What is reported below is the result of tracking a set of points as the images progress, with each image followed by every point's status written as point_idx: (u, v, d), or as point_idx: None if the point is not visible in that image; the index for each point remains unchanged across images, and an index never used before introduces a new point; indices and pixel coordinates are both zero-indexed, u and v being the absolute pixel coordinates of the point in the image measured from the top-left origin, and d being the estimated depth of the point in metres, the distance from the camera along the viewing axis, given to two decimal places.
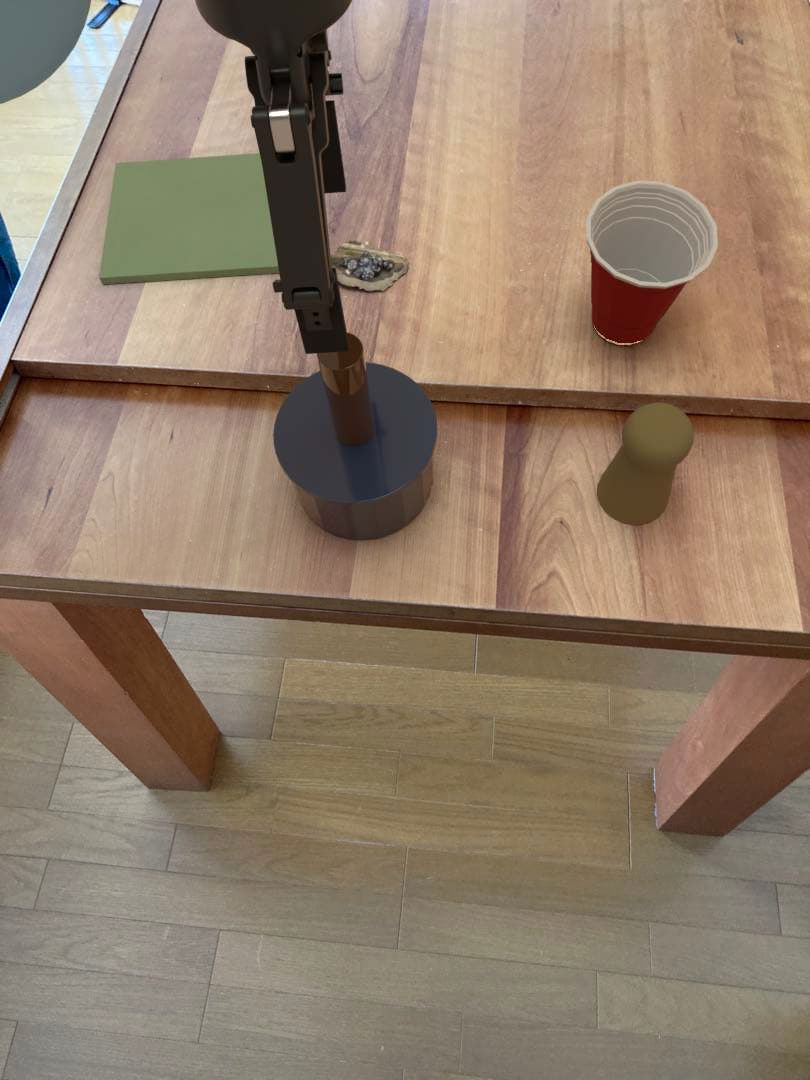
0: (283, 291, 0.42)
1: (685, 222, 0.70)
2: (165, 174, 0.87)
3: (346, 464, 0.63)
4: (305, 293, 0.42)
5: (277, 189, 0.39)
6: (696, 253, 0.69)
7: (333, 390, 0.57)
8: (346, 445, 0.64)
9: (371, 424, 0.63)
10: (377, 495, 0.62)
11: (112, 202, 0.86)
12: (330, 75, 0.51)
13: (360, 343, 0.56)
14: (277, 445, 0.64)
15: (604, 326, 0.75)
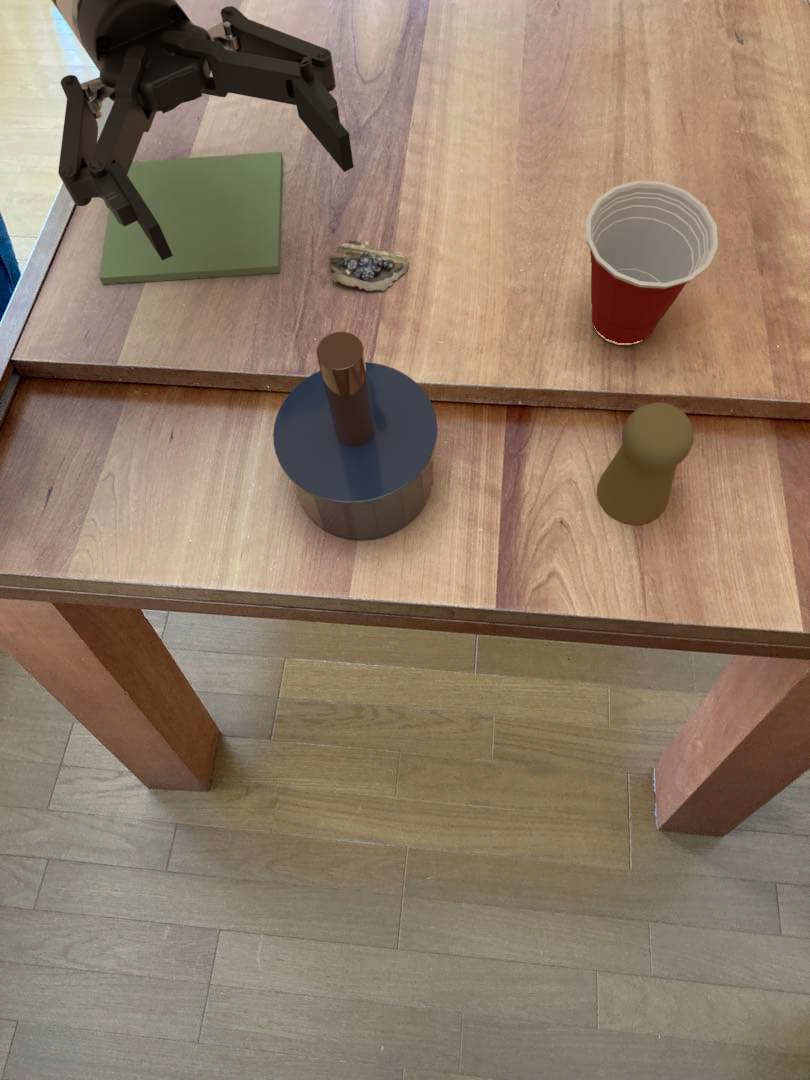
0: (320, 47, 0.57)
1: (685, 222, 0.70)
2: (165, 174, 0.87)
3: (346, 464, 0.63)
4: None
5: None
6: (696, 253, 0.69)
7: (333, 390, 0.57)
8: (346, 445, 0.64)
9: (371, 424, 0.63)
10: (377, 495, 0.62)
11: None
12: None
13: (360, 343, 0.56)
14: (277, 445, 0.64)
15: (604, 326, 0.75)
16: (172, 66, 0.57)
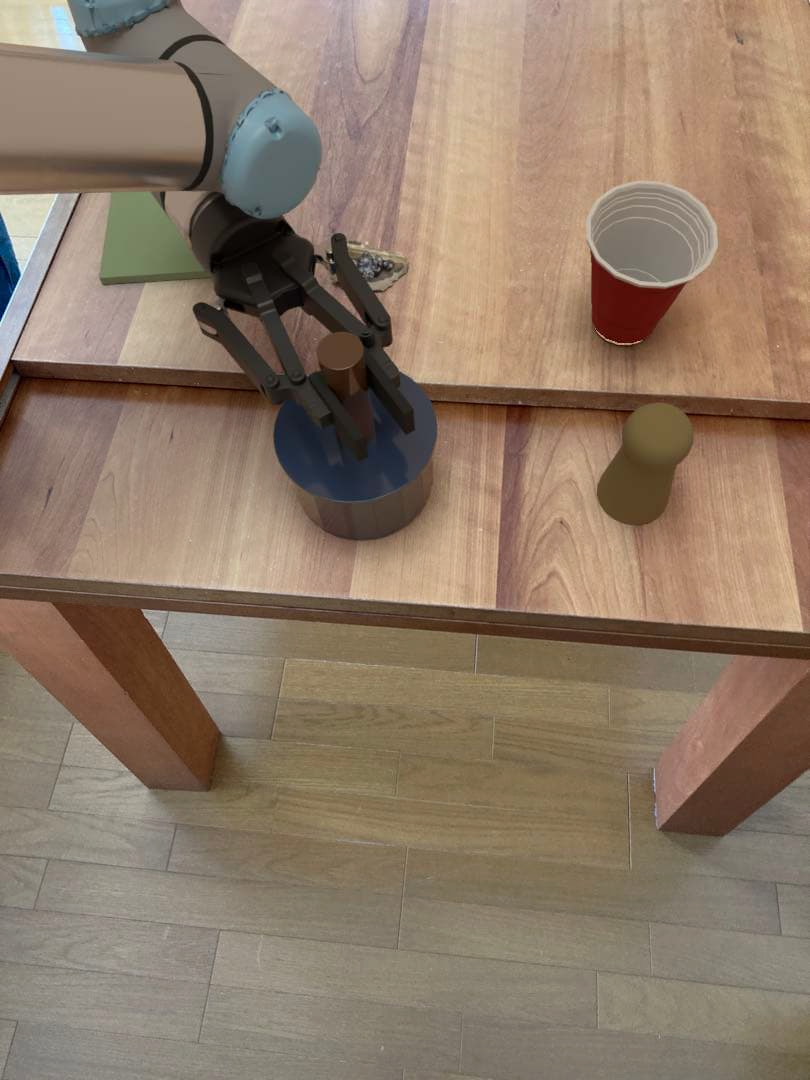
0: (386, 311, 0.60)
1: (685, 222, 0.70)
2: None
3: (346, 464, 0.63)
4: None
5: None
6: (696, 253, 0.69)
7: (333, 390, 0.57)
8: (346, 445, 0.64)
9: (371, 424, 0.63)
10: (377, 495, 0.62)
11: (112, 202, 0.86)
12: None
13: (360, 343, 0.56)
14: (277, 445, 0.64)
15: (604, 326, 0.75)
16: (282, 281, 0.61)
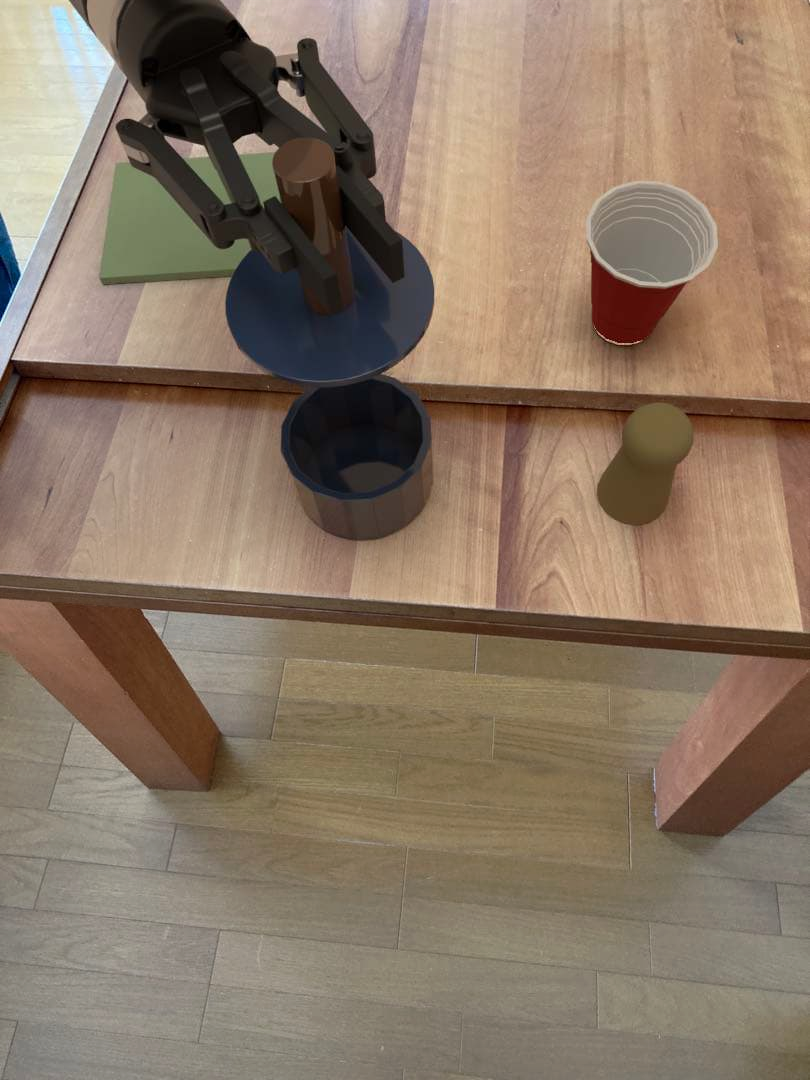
0: (367, 126, 0.46)
1: (685, 222, 0.70)
2: None
3: (318, 336, 0.49)
4: None
5: None
6: (696, 253, 0.69)
7: (297, 221, 0.43)
8: (318, 313, 0.50)
9: (350, 283, 0.49)
10: (357, 373, 0.48)
11: (112, 202, 0.86)
12: None
13: (331, 150, 0.42)
14: (230, 314, 0.50)
15: (604, 326, 0.75)
16: (233, 93, 0.47)
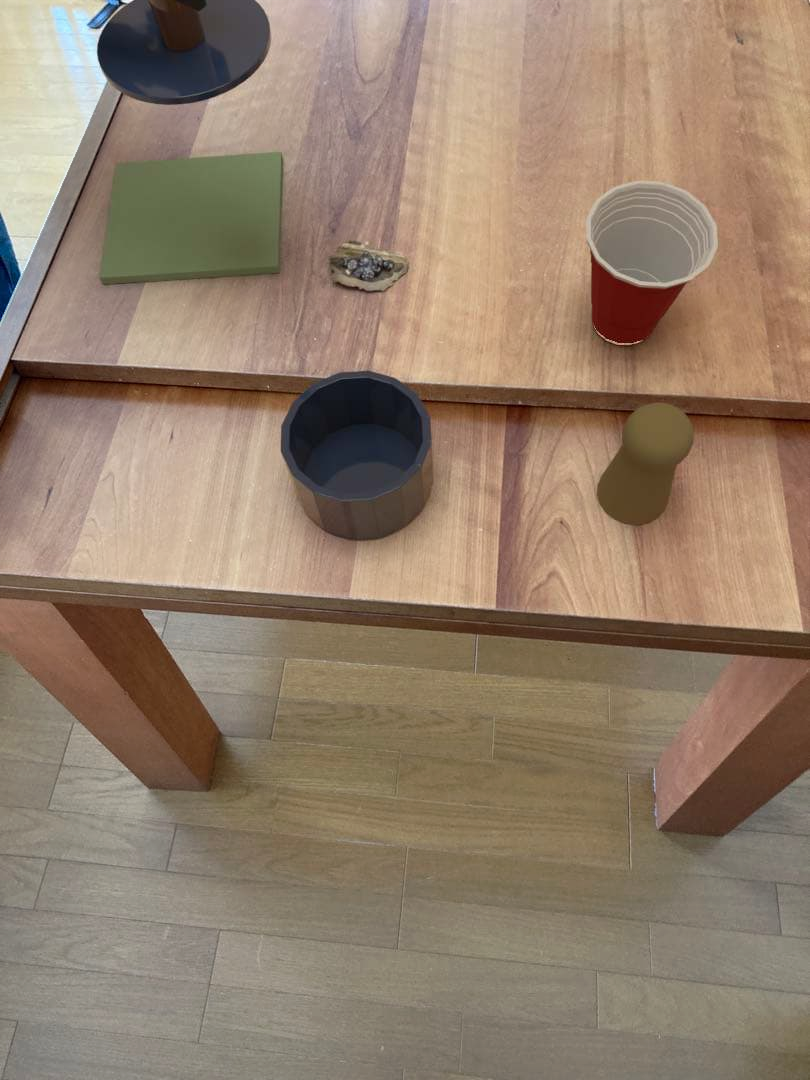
0: None
1: (685, 222, 0.70)
2: (165, 174, 0.87)
3: (188, 65, 0.60)
4: None
5: None
6: (696, 253, 0.69)
7: None
8: (180, 51, 0.60)
9: (198, 14, 0.59)
10: (231, 78, 0.59)
11: (112, 202, 0.86)
12: None
13: None
14: (108, 73, 0.60)
15: (604, 326, 0.75)
16: None
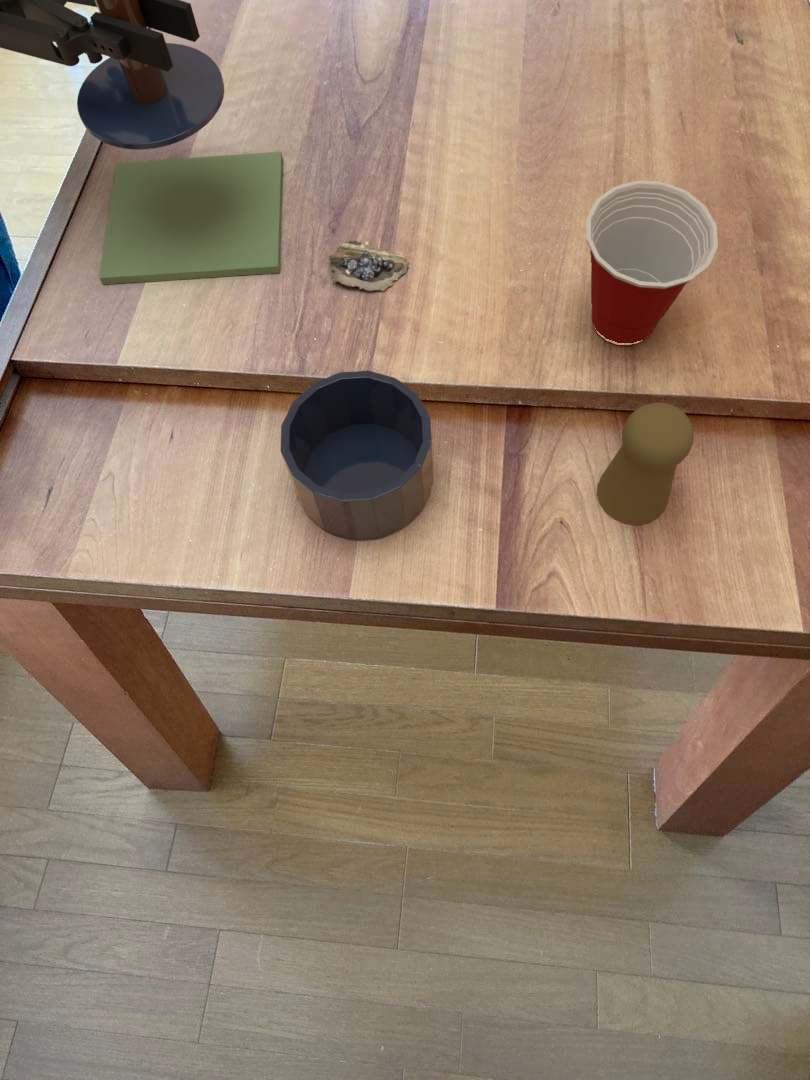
0: None
1: (685, 222, 0.70)
2: (165, 174, 0.87)
3: (158, 115, 0.71)
4: None
5: None
6: (696, 253, 0.69)
7: None
8: (149, 103, 0.72)
9: (162, 72, 0.71)
10: (196, 122, 0.70)
11: (112, 202, 0.86)
12: (87, 54, 0.67)
13: None
14: (91, 127, 0.71)
15: (604, 326, 0.75)
16: None
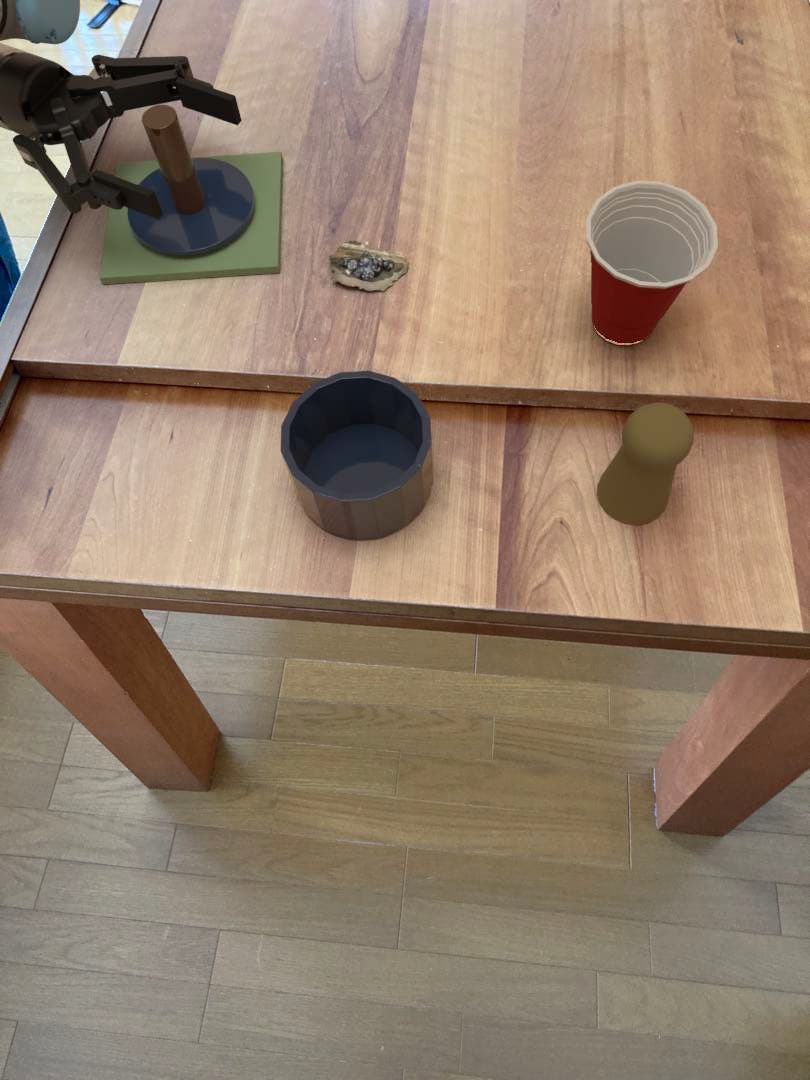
0: (177, 56, 0.81)
1: (685, 222, 0.70)
2: None
3: (198, 224, 0.82)
4: None
5: None
6: (696, 253, 0.69)
7: (167, 153, 0.76)
8: (190, 214, 0.83)
9: (201, 188, 0.82)
10: (231, 232, 0.82)
11: None
12: None
13: (170, 107, 0.75)
14: (140, 235, 0.82)
15: (604, 326, 0.75)
16: (84, 104, 0.79)
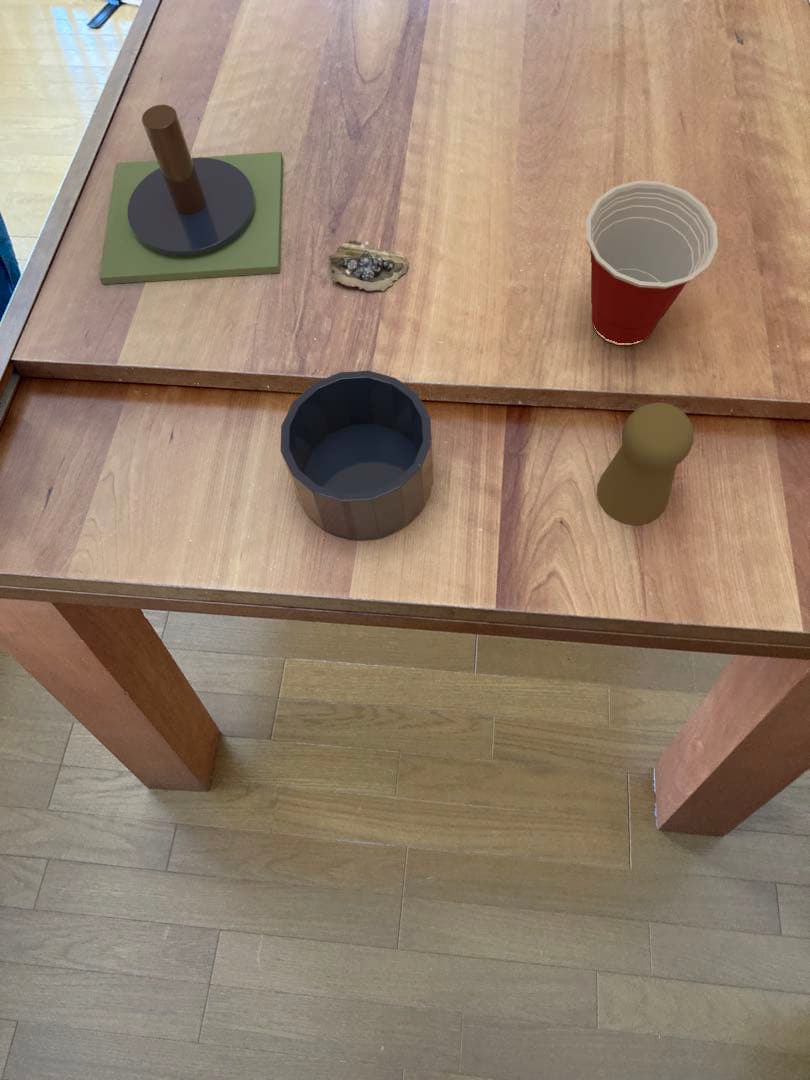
0: None
1: (685, 222, 0.70)
2: None
3: (198, 224, 0.82)
4: None
5: None
6: (696, 253, 0.69)
7: (167, 153, 0.76)
8: (190, 214, 0.83)
9: (201, 188, 0.82)
10: (231, 232, 0.82)
11: (112, 202, 0.86)
12: None
13: (170, 107, 0.75)
14: (140, 235, 0.82)
15: (604, 326, 0.75)
16: None
